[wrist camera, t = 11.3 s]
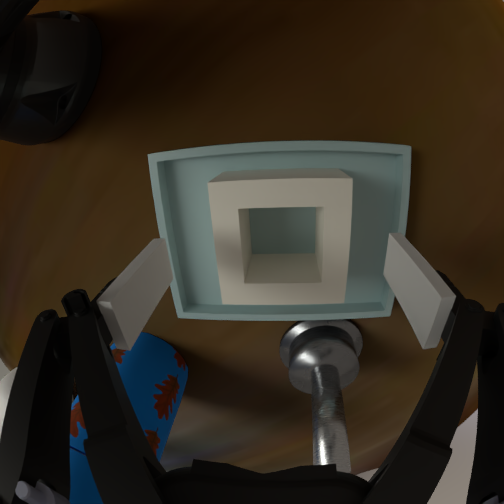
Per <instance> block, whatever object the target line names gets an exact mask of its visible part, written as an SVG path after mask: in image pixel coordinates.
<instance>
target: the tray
mask: <svg viewBox="0 0 504 504" xmlns="http://www.w3.org/2000/svg"><path fill="white" fill-rule="evenodd" d="M148 161H149V169H150V177H151V184H152V191H153V198H154V204H155V210H156V216H157V222H158V228H159V233H160V238H165V240H166V245H167V250H168V255H169V260H170V265H171V269H172V274H173V280H172V282H171V283H170V287H171V291H172V295H173V299H174V304H175V308H176V312H177V316H178V318H190V319H212V320H249V321H296V320H333V319H354V318H371V317H385V316H390V315H391V310H392V306H393V302H394V297H395V294H394V293H393V291H392V289H391V287H390V286H389V284H388V282H387V280H386V279H385V277H384V275H383V272H384V266H385V259H386V253H387V245H388V238H389V233H401V234H402V235H403V236H404V237H405V233H406V224H407V215H408V204H409V191H410V174H411V146H407V145H401V144H390V143H377V142H361V141H334V140H290V141H263V142H245V143H232V144H220V145H210V146H201V147H192V148H184V149H177V150H170V151H163V152H157V153H152V154H148ZM287 168H338V169H340V170H341V171H343V172H344V173H345V174H347V175H348V176H350V177H351V178H353V191H352V219H351V236H350V250H349V262H348V273H347V283H346V292H345V300H344V303H335V304H295V305H234V304H222V297H221V290H220V283H219V276H218V268H217V261H216V253H215V245H214V237H213V229H212V220H211V212H210V203H209V193H208V184H207V183H208V182H209V181H210V180H212V179H213V178H215V177H216V176H218V175H219V174H221V173H222V172H225V171H240V170H259V169H287ZM249 219H250V233H251V247H252V254H291V253H315V229H316V207H275V208H249Z"/></svg>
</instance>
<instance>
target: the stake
mask: <svg viewBox="0 0 504 504" xmlns="http://www.w3.org/2000/svg"><path fill="white" fill-rule="evenodd" d="M362 346H363V340H362V336H361V333H360V330H359V328H358V327H357V326H356V324H355V323H353V322H352V321H351V320H349V319H333V320H300V321H298V322H296V323H295V324H293V325H292V326H291V327H290V328H289V329H288V330H287V331H286V332H285V333H284V335H283V337H282V339H281V342H280V357H281V360H282V361H283V363H284V364H285V366H286V367H287V368H288V369H289V379H290V382H291V383H292V385H293V386H294V387H295V388H297V389H298V390H300V391H302V392H305V393H309V394H311V398H312V424H313V465H325V464H336V468H337V471H341V472H346V473H351V467H350V456H349V446H348V437H347V428H346V420H345V412H344V405H343V397H342V390H341V389H343V388H345V387H346V386H348V385H349V384H350V383H352V382H353V381H354V379H355V378H356V377H357V375H358V372H359V362H358V356H359V355H360V353H361V350H362Z"/></svg>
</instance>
